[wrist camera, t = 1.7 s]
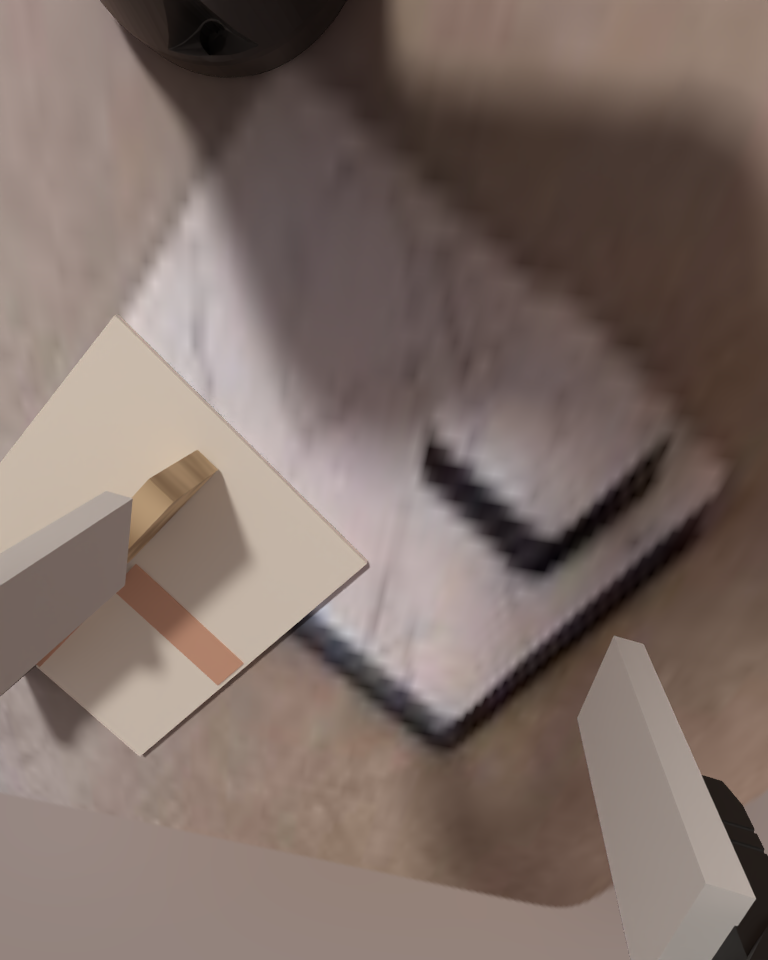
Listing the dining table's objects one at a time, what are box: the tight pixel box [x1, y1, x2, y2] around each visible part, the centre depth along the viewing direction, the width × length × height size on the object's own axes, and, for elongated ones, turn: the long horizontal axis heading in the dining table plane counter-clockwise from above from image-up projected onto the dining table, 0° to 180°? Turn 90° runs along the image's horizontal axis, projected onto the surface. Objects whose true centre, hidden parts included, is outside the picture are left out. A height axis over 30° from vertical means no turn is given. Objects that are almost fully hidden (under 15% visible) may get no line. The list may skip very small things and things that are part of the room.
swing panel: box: [127, 450, 218, 563], centre depth 37 cm, size 13×2×7 cm, turn 135°
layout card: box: [0, 315, 368, 756], centre depth 42 cm, size 22×26×1 cm
